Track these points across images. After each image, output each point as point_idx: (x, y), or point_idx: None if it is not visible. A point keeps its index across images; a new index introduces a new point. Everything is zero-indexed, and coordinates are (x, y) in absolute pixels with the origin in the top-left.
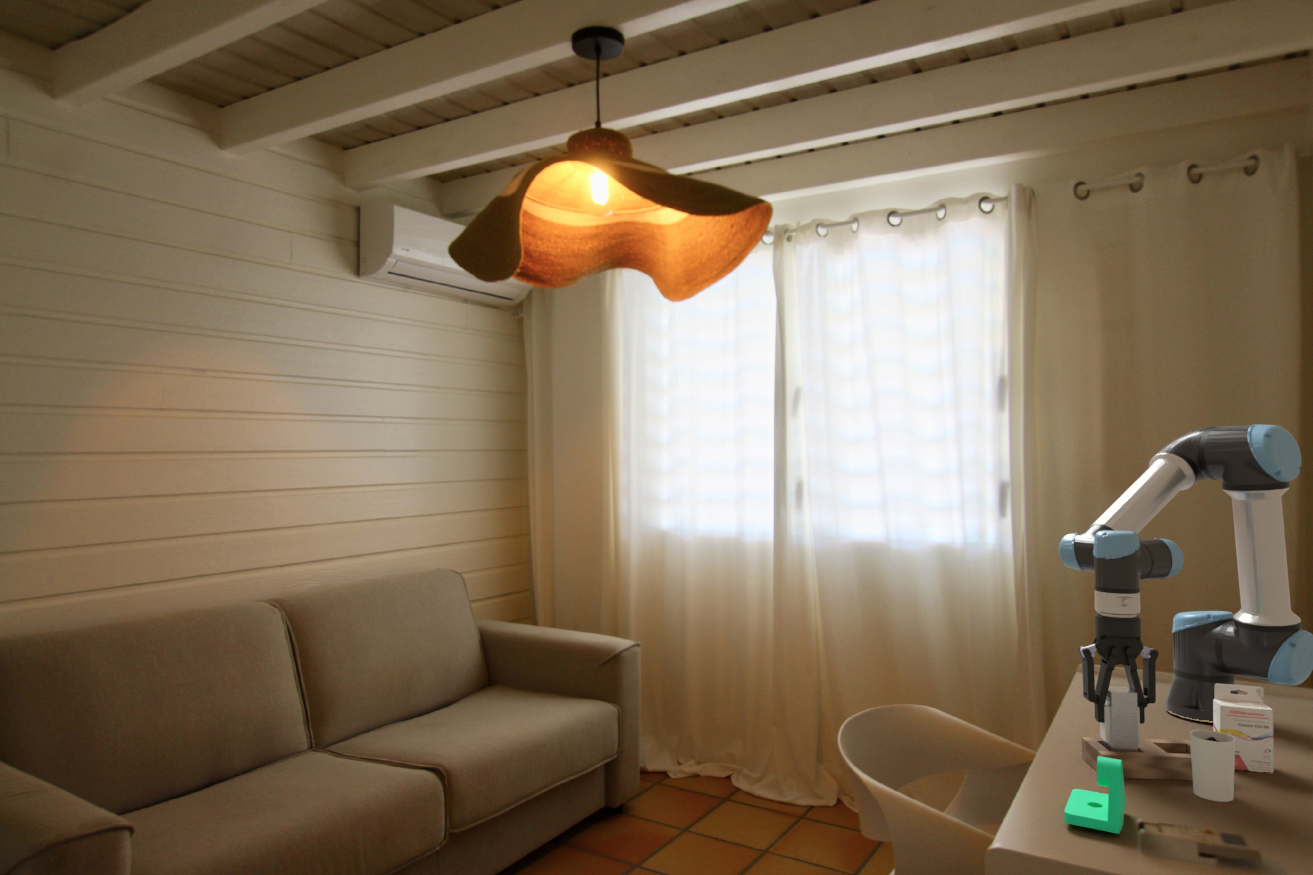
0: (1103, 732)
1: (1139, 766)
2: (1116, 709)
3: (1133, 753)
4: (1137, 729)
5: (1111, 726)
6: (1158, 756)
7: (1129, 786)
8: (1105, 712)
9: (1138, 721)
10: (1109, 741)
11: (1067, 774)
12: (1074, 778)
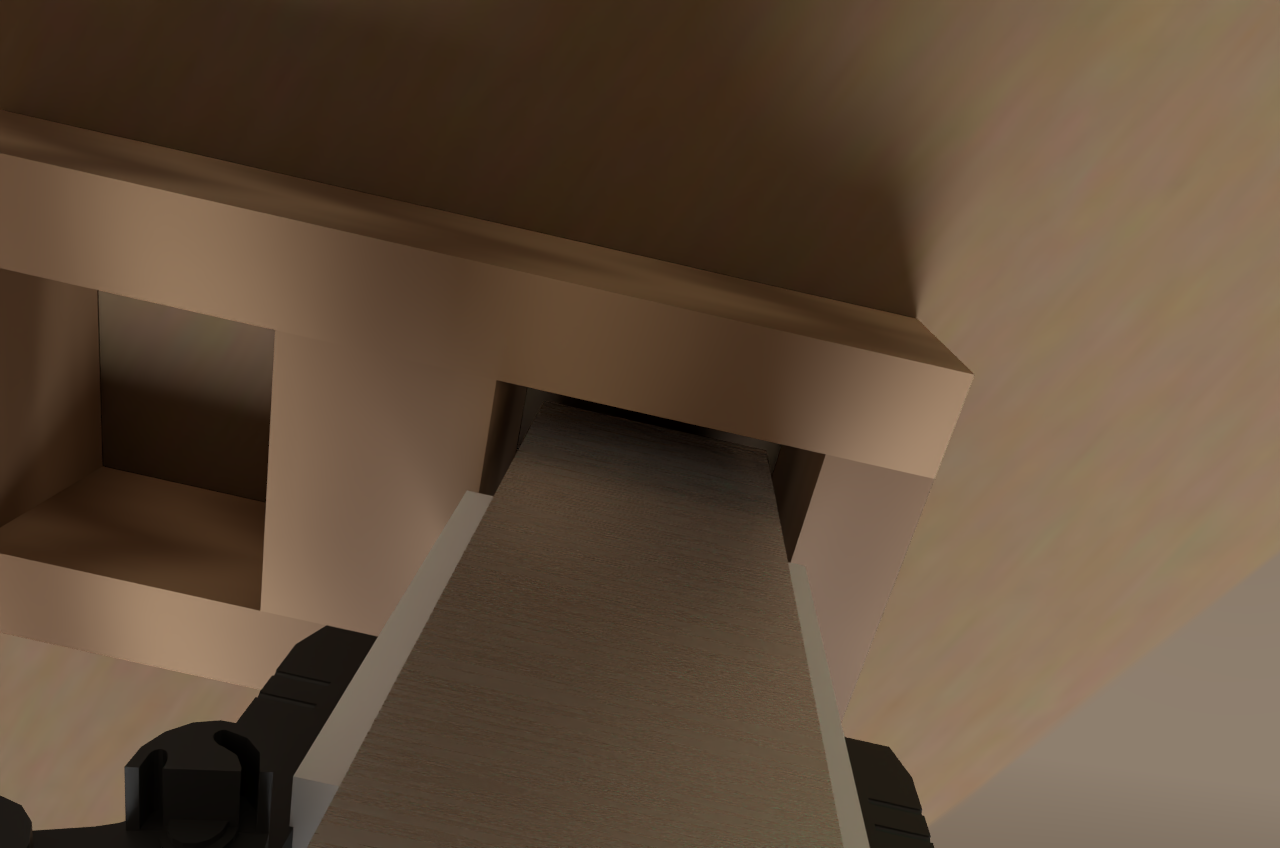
0: None
1: (624, 272)
2: (751, 782)
3: (628, 365)
4: (481, 530)
5: (795, 627)
6: (425, 249)
7: (850, 83)
8: (860, 818)
9: (402, 627)
10: None
11: (1164, 411)
12: (1180, 322)
